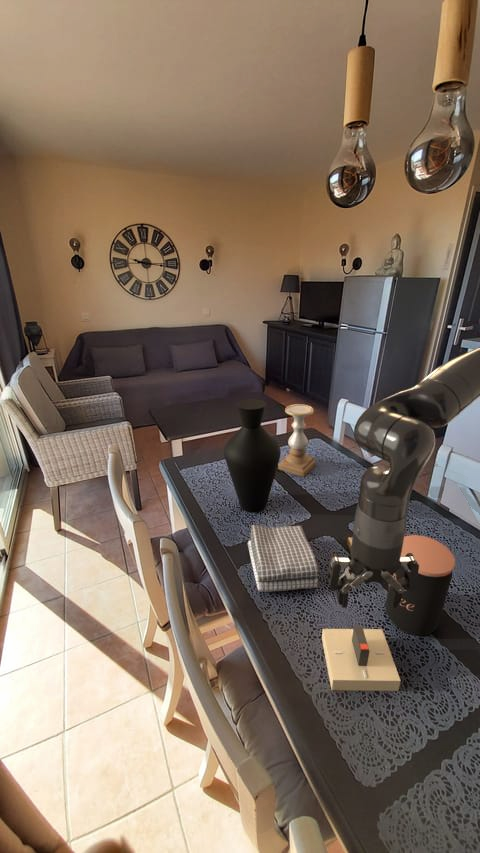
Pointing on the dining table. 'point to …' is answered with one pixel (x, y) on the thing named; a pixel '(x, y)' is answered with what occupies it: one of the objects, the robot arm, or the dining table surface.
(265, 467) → the vase
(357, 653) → the dark grey block
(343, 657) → the panel
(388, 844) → the dining table surface
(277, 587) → the towel
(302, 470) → the candle holder
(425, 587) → the coffee jar
